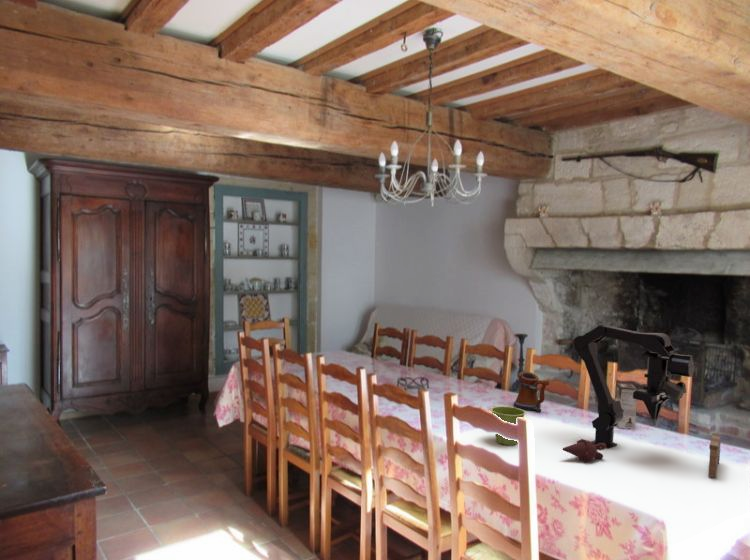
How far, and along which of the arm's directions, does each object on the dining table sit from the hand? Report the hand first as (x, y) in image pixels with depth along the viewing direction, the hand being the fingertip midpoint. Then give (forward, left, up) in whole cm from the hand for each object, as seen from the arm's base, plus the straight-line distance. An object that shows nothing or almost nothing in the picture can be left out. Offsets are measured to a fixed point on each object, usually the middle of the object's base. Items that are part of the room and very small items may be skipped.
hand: (654, 418), depth 185 cm
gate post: (+13, -14, -13) cm, 23 cm away
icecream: (-22, +11, -13) cm, 28 cm away
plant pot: (-30, +36, -13) cm, 49 cm away
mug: (+13, +58, -13) cm, 61 cm away
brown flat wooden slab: (+5, -17, -13) cm, 21 cm away
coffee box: (+26, +24, -13) cm, 38 cm away
